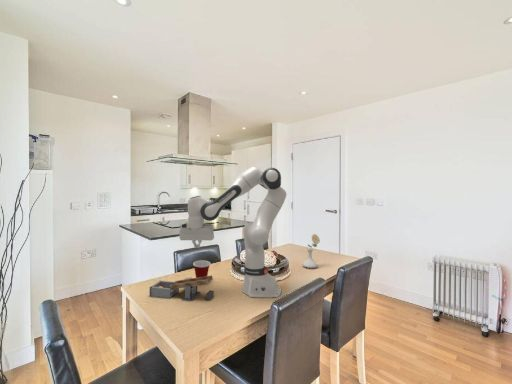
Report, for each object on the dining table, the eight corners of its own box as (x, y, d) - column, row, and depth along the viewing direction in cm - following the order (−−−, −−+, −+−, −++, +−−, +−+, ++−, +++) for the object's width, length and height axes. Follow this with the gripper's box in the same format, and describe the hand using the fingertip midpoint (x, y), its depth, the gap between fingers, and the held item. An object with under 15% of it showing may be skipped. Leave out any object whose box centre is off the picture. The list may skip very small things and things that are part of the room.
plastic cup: (197, 286, 152) (197, 266, 152) (190, 281, 161) (190, 262, 161) (213, 282, 159) (213, 263, 158) (205, 277, 167) (205, 259, 167)
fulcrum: (200, 292, 143) (200, 279, 143) (192, 301, 133) (192, 287, 132) (190, 291, 145) (190, 278, 144) (181, 300, 134) (181, 286, 134)
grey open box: (178, 290, 145) (179, 282, 145) (169, 298, 136) (169, 289, 135) (159, 289, 148) (159, 280, 148) (149, 296, 138) (149, 287, 138)
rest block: (213, 296, 139) (213, 290, 139) (210, 300, 134) (210, 294, 134) (209, 296, 139) (209, 290, 139) (206, 300, 134) (206, 294, 134)
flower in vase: (306, 270, 185) (306, 235, 184) (299, 265, 196) (300, 232, 195) (322, 268, 188) (323, 235, 187) (315, 264, 199) (315, 232, 199)
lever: (217, 275, 147) (216, 270, 147) (207, 284, 133) (206, 279, 133) (182, 280, 151) (181, 276, 151) (170, 289, 137) (169, 285, 137)
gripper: (215, 223, 149) (216, 246, 149) (182, 223, 153) (183, 246, 153) (211, 224, 143) (212, 249, 143) (177, 225, 146) (178, 248, 147)
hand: (197, 247), depth 148 cm, fingers closed
